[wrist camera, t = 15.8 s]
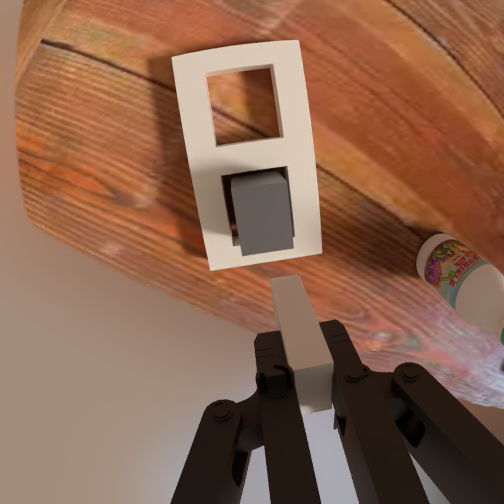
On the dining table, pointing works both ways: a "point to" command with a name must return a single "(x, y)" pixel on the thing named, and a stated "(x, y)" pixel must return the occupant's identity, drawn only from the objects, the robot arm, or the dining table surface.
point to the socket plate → (249, 147)
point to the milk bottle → (464, 282)
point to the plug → (262, 213)
